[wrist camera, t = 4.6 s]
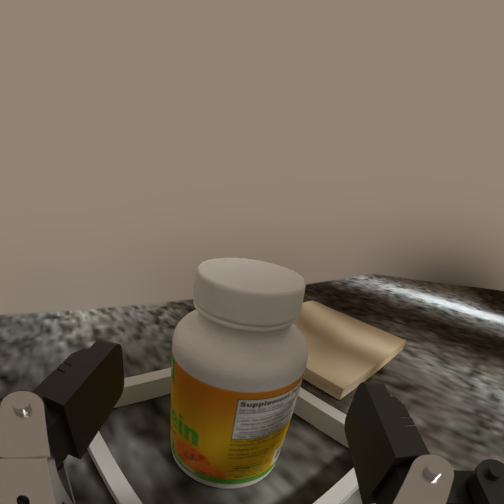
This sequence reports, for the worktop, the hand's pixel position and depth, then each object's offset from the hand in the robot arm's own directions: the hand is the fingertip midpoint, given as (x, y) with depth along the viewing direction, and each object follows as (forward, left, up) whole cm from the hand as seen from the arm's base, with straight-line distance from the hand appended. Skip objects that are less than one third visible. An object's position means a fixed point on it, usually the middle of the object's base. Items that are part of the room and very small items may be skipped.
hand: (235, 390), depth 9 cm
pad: (-17, -7, -6) cm, 19 cm away
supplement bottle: (-2, -2, -7) cm, 7 cm away
